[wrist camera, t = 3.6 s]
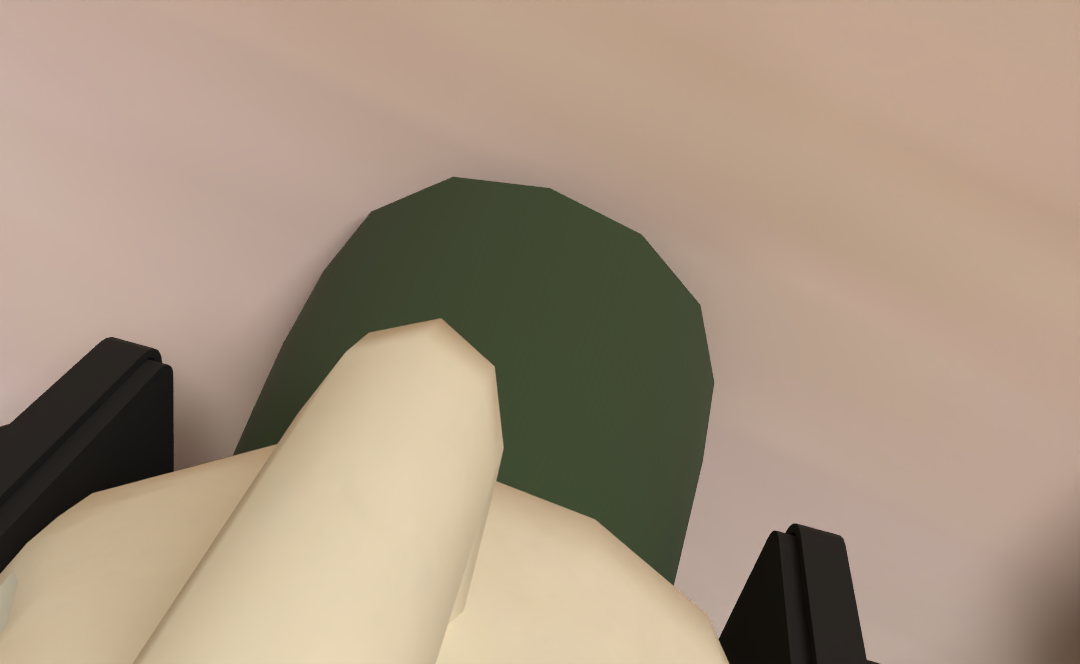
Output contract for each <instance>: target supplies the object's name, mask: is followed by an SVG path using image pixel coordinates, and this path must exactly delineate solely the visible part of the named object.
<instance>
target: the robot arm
mask: <svg viewBox="0 0 1080 664" xmlns="http://www.w3.org/2000/svg"><path fill="white" fill-rule="evenodd" d="M171 472H174V434H173V370H172V368H171V366H169V365H167V364H163V363H162V359H161V355H160V353H159V351H158V350H156V349H154V348H150V347H147V346H143V345H139V344H136V343H132V342H128V341H125V340H121V339H117V338H114V337H110V338H106V339H104V340H103V341H101V342H100V343H99V344H98V345H96V346H95V347H94V348H93V349H92V350H91V351H90V352H89V353H88V354H87V355H85V356H84V357H83V358H82V359H81V360H80V361H79V362H78V363H77V364H75V365H74V366H73V367H72V368H71V369H70V370H69V371H68V372H67V373H66V374H64V375H63V376H62V377H61V378H60V379H59V380H58V381H57V382H56V383H54V384H53V385H52V386H51V387H50V388H49V389H48V390H47V391H46V392H45V393H43V394H42V395H41V396H40V397H39V398H38V399H37V400H36V401H35V402H33V403H32V404H31V405H30V406H29V407H28V408H27V409H26V410H25V411H24V412H22V413H21V414H20V415H19V416H18V417H17V418H16V419H15V420H14V421H13V422H11V423H10V424H8V425H4V426H1V427H0V574H1V572H2V571H3V570H4V569H5V568H6V567H7V565H8V564H9V563H10V562H11V561H12V560H13V559H14V557H15V556H16V555H17V554H18V553H19V552H20V551H21V549H22V548H23V547H24V546H25V545H26V544H27V543H28V542H29V541H30V540H31V539H32V538H34V537H35V536H36V535H37V534H38V533H40V532H41V531H42V530H43V529H44V528H45V527H47V526H48V525H49V524H50V523H51V522H52V521H54V520H55V519H56V518H57V517H58V516H60V515H61V514H63V513H64V512H66V511H67V510H69V509H70V508H72V507H73V506H74V505H76V504H77V503H79V502H80V501H82V500H83V499H85V498H86V497H88V496H89V495H90V494H92V493H95V492H99V491H103V490H107V489H110V488H114V487H118V486H122V485H125V484H129V483H133V482H137V481H140V480H144V479H148V478H152V477H155V476H159V475H163V474H167V473H171ZM719 642H720V644H721V646H722V648H723V651H724V653H725V655H726V657H727V660H728V662H729V664H879V663H876V662H872V661H869V660H867V659H866V654H865V648H864V643H863V638H862V632H861V627H860V621H859V616H858V611H857V605H856V600H855V594H854V589H853V584H852V578H851V573H850V567H849V562H848V557H847V551H846V546H845V543H844V540H843V538H842V537H841V536H840V535H836V534H833V533H829V532H825V531H822V530H818V529H814V528H811V527H807V526H803V525H800V524H792V525H791V526H790V527H789V528H788V530H787V531H786V533H782V532H779V531H773V532H772V533H771V534H770V535H769V537H768V539H767V541H766V543H765V545H764V547H763V549H762V551H761V553H760V555H759V557H758V560H757V562H756V564H755V566H754V568H753V570H752V572H751V574H750V576H749V578H748V580H747V582H746V584H745V586H744V588H743V590H742V592H741V594H740V596H739V599H738V601H737V603H736V605H735V607H734V609H733V611H732V613H731V615H730V617H729V619H728V621H727V623H726V625H725V627H724V629H723V631H722V633H721V635H720V638H719Z"/></svg>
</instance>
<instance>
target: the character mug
mask: <svg viewBox="0 0 1080 664" xmlns="http://www.w3.org/2000/svg"><path fill="white" fill-rule="evenodd" d="M713 387H714V378H713V373H712V367H711V362H710V356H709V351H708V345H707V339H706V334H705V328H704V323H703V317H702V312H701V306H700V304H699V303H698V302H697V300H696V299H695V298H694V297H693V296H692V294H691V293H690V292H689V291H688V290H687V288H686V287H685V286H684V285H683V284H682V282H681V281H680V280H679V279H678V278H677V276H676V275H675V274H674V273H673V272H672V270H671V269H670V268H669V267H668V266H667V264H666V263H665V262H664V261H663V260H662V258H661V257H660V256H659V255H658V254H657V252H656V251H655V250H654V249H653V248H652V246H651V245H650V244H649V243H648V242H647V240H646V239H645V238H644V237H643V236H642V235H641V234H639V233H637V232H635V231H633V230H631V229H629V228H627V227H626V226H624V225H622V224H620V223H618V222H616V221H614V220H612V219H610V218H608V217H606V216H604V215H602V214H600V213H598V212H596V211H594V210H592V209H590V208H588V207H586V206H584V205H582V204H580V203H578V202H576V201H574V200H572V199H570V198H568V197H566V196H564V195H562V194H560V193H558V192H556V191H554V190H552V189H550V188H543V187H535V186H526V185H518V184H509V183H501V182H492V181H484V180H475V179H467V178H458V177H452V178H449V179H447V180H445V181H442V182H440V183H438V184H435V185H433V186H431V187H428V188H426V189H424V190H421V191H419V192H417V193H414V194H412V195H409V196H407V197H405V198H402V199H400V200H398V201H395V202H393V203H391V204H388V205H386V206H384V207H381V208H379V209H377V210H374V211H372V212H371V213H370V214H369V215H368V217H367V218H366V219H365V220H364V222H363V223H362V224H361V225H360V227H359V228H358V229H357V230H356V232H355V233H354V234H353V235H352V237H351V238H350V239H349V240H348V242H347V243H346V244H345V245H344V247H343V248H342V249H341V250H340V252H339V253H338V254H337V255H336V257H335V258H334V259H333V260H332V262H331V263H330V264H329V265H328V267H327V268H326V269H325V270H324V272H323V274H322V275H321V277H320V279H319V281H318V283H317V284H316V286H315V288H314V290H313V291H312V293H311V295H310V297H309V299H308V300H307V302H306V304H305V306H304V308H303V309H302V311H301V313H300V315H299V316H298V318H297V320H296V322H295V324H294V325H293V327H292V329H291V331H290V332H289V334H288V336H287V338H286V340H285V341H284V343H283V345H282V347H281V350H280V352H279V354H278V356H277V358H276V361H275V363H274V365H273V367H272V369H271V372H270V374H269V376H268V378H267V380H266V383H265V385H264V387H263V389H262V391H261V394H260V396H259V398H258V400H257V402H256V405H255V407H254V409H253V411H252V414H251V416H250V418H249V420H248V423H247V425H246V427H245V429H244V432H243V434H242V436H241V438H240V441H239V443H238V445H237V448H236V450H235V452H234V454H233V456H231V457H227V458H223V459H219V460H216V461H212V462H208V463H204V464H201V465H197V466H193V467H189V468H186V469H182V470H178V471H174V472H171V473H167V474H163V475H159V476H155V477H152V478H148V479H144V480H140V481H137V482H133V483H129V484H125V485H122V486H118V487H114V488H110V489H107V490H103V491H99V492H95V493H92V494H90V495H89V496H88V497H86V498H85V499H83V500H82V501H80V502H79V503H77V504H76V505H74V506H73V507H72V508H70V509H69V510H67V511H66V512H64V513H63V514H61V515H60V516H58V517H57V518H56V519H55V520H54V521H52V522H51V523H50V524H49V525H48V526H47V527H45V528H44V529H43V530H42V531H41V532H40V533H38V534H37V535H36V536H35V537H34V538H32V539H31V540H30V541H29V542H28V543H27V544H26V545H25V546H24V547H23V548H22V549H21V551H20V552H19V553H18V554H17V555H16V556H15V557H14V559H13V560H12V561H11V562H10V563H9V564H8V565H7V567H6V568H5V569H4V570H3V571H2V572H1V574H0V664H729V662H728V660H727V657H726V655H725V653H724V651H723V648H722V646H721V644H720V642H719V639H718V637H717V635H716V633H715V631H714V628H713V626H712V624H711V622H710V619H709V617H708V615H707V614H706V613H705V612H704V611H703V610H701V609H700V608H699V607H698V606H697V605H696V604H694V603H693V602H692V601H691V600H690V599H688V598H687V597H686V596H685V595H684V594H683V593H681V592H680V591H679V590H678V589H677V588H675V587H674V582H675V578H676V574H677V569H678V565H679V561H680V556H681V552H682V548H683V544H684V539H685V535H686V531H687V526H688V522H689V518H690V513H691V509H692V505H693V500H694V496H695V492H696V488H697V483H698V479H699V475H700V470H701V466H702V462H703V456H704V449H705V442H706V435H707V428H708V421H709V414H710V408H711V401H712V394H713Z"/></svg>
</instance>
